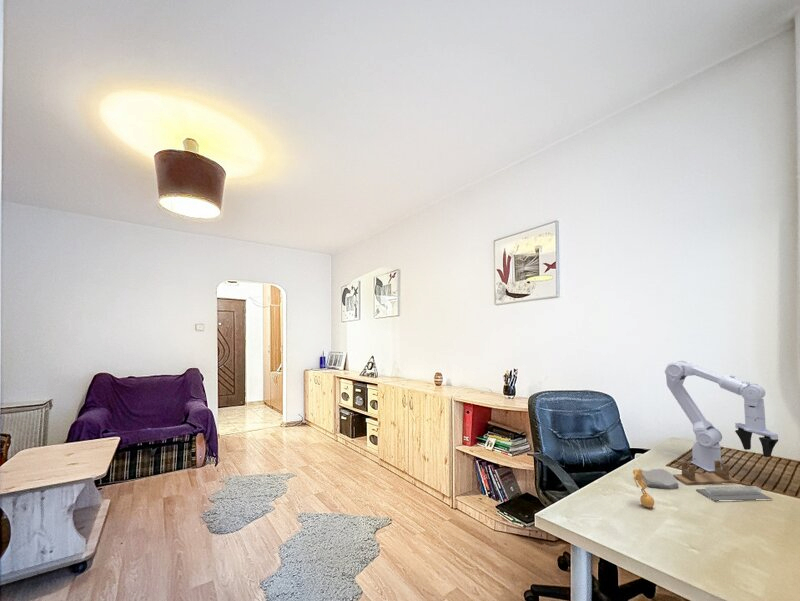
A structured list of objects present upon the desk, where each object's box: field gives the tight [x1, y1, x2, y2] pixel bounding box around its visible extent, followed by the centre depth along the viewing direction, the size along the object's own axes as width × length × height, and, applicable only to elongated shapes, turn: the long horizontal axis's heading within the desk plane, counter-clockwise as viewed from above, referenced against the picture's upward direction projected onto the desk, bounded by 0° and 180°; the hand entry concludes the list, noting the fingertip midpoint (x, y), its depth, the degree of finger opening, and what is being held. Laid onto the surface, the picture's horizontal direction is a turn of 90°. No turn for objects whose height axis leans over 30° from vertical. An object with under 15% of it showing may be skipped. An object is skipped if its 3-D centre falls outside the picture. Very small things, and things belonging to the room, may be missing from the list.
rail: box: [705, 485, 762, 496], centre depth 136 cm, size 18×2×2 cm, turn 91°
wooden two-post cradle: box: [672, 460, 740, 486], centre depth 148 cm, size 20×7×6 cm, turn 91°
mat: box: [695, 488, 773, 502], centre depth 136 cm, size 8×20×1 cm, turn 91°
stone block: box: [636, 468, 679, 490], centre depth 146 cm, size 12×5×10 cm
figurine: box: [632, 468, 655, 508], centre depth 130 cm, size 8×6×12 cm
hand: (757, 452), depth 147 cm, fingers open, 7 cm apart
